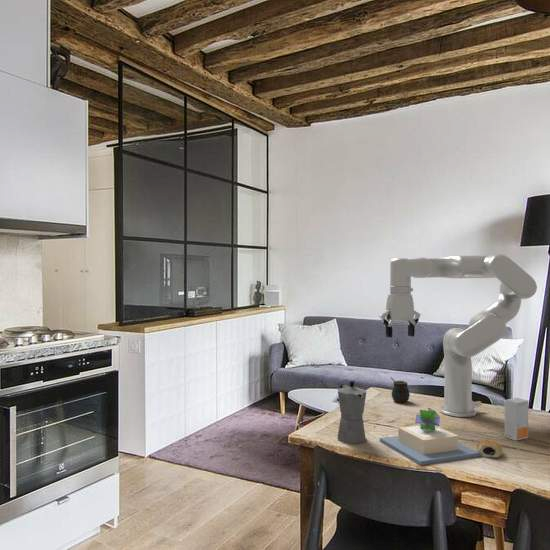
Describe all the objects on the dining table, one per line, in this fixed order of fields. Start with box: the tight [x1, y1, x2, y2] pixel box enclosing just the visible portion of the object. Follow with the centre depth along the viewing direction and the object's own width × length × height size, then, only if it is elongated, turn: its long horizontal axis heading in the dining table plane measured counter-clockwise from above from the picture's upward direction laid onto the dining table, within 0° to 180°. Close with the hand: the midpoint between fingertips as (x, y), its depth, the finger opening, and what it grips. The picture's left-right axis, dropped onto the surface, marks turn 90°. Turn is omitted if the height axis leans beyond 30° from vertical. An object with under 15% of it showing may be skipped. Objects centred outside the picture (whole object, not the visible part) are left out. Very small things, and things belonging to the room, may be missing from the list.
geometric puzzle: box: [414, 407, 441, 432], centre depth 142 cm, size 7×7×8 cm
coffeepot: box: [337, 380, 367, 444], centre depth 151 cm, size 15×9×18 cm, turn 16°
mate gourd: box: [390, 377, 410, 404], centre depth 196 cm, size 7×8×10 cm
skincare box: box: [504, 397, 529, 442], centre depth 152 cm, size 6×4×12 cm
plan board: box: [379, 424, 481, 466], centre depth 142 cm, size 20×20×5 cm
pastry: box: [476, 439, 503, 459], centre depth 139 cm, size 9×7×4 cm
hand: (400, 336), depth 181 cm, fingers open, 9 cm apart
